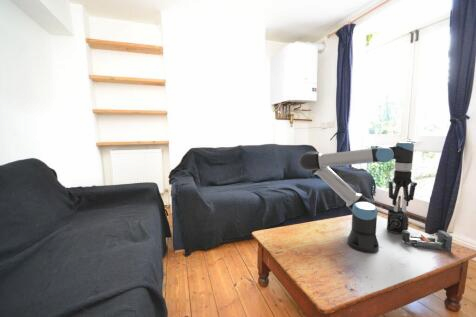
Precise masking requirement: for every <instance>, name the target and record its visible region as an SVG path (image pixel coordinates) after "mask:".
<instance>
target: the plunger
mask: <svg viewBox="0 0 476 317" xmlns="http://www.w3.org/2000/svg"><path fill="white" fill-rule="evenodd" d="M401 240H402V241H403V242H404V243H407V244H411V243H416V240H417V241H422V240H421V239H419V238H411V233H410V231H408V230H403V232H402V234H401Z"/></svg>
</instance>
